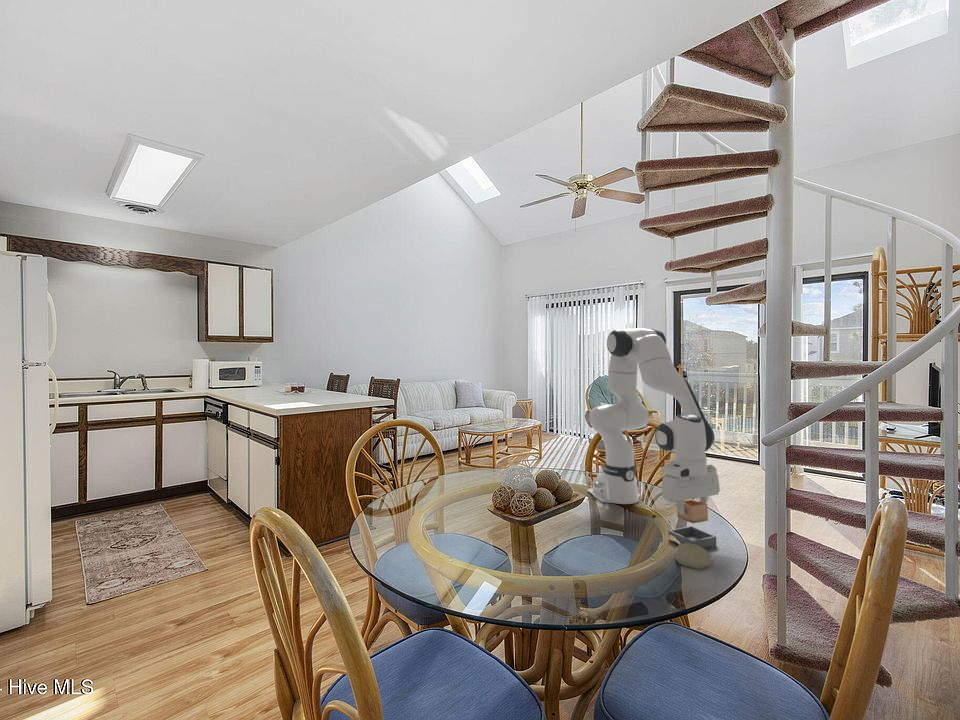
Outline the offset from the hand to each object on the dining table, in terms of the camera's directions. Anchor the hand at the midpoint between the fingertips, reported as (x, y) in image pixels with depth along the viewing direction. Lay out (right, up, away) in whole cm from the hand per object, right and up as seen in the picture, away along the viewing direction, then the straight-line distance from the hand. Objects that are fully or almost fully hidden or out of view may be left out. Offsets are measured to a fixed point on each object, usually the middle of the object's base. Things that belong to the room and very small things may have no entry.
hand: (692, 512), depth 136 cm
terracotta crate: (0, -2, 0) cm, 2 cm away
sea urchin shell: (-6, -10, -13) cm, 18 cm away
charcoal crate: (0, -10, 0) cm, 10 cm away
